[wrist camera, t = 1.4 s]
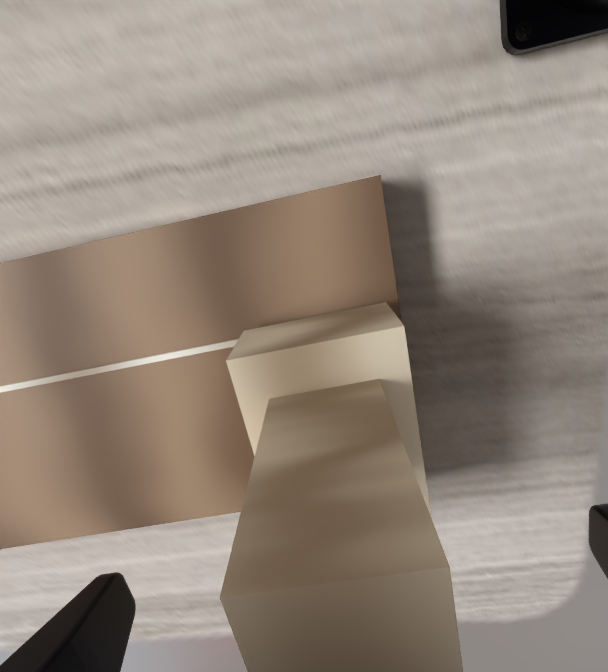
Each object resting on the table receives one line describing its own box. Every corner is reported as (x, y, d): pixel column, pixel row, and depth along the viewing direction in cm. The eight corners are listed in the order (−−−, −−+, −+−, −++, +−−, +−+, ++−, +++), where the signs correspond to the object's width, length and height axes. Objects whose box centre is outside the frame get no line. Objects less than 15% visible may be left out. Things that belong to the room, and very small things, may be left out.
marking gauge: (376, 289, 15) (513, 469, 5) (408, 489, 18) (537, 876, 7) (252, 315, 15) (125, 529, 5) (303, 505, 18) (287, 891, 8)
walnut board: (371, 179, 14) (380, 175, 12) (413, 453, 18) (425, 484, 16) (-189, 309, 16) (-259, 323, 14) (-52, 529, 20) (-92, 564, 18)
